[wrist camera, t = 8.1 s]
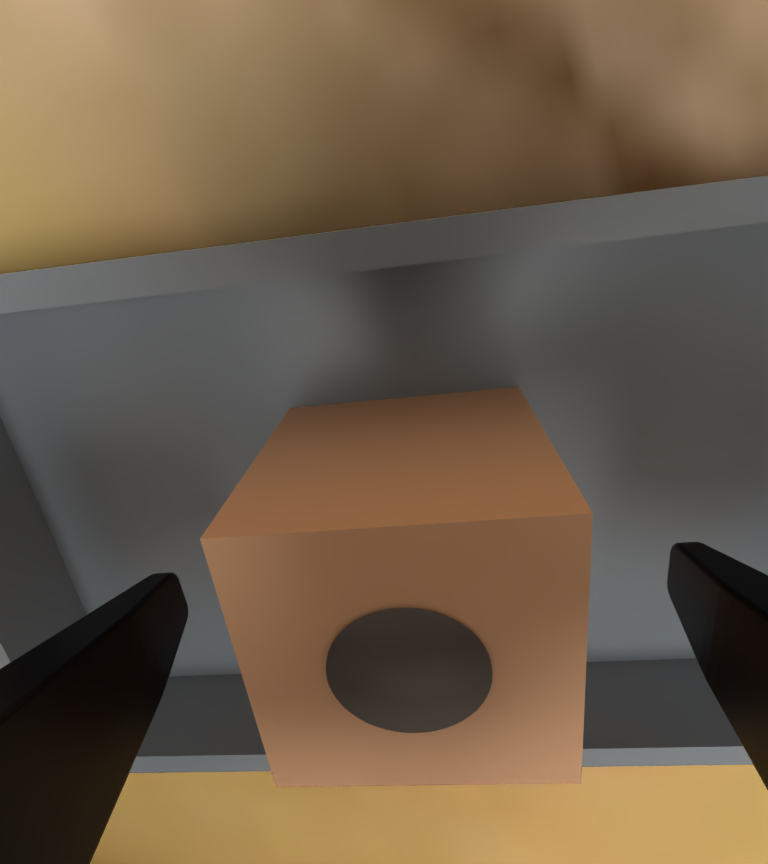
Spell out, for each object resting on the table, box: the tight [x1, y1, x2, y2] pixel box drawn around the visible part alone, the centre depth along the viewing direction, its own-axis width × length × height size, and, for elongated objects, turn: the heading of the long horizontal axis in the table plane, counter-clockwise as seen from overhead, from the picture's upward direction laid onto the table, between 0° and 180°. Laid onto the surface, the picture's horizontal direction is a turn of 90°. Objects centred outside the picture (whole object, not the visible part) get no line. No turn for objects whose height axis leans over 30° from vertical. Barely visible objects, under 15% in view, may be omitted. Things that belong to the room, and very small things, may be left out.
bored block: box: [200, 387, 593, 787], centre depth 10 cm, size 5×5×5 cm
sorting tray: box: [0, 175, 768, 773], centre depth 11 cm, size 20×12×3 cm, turn 97°
